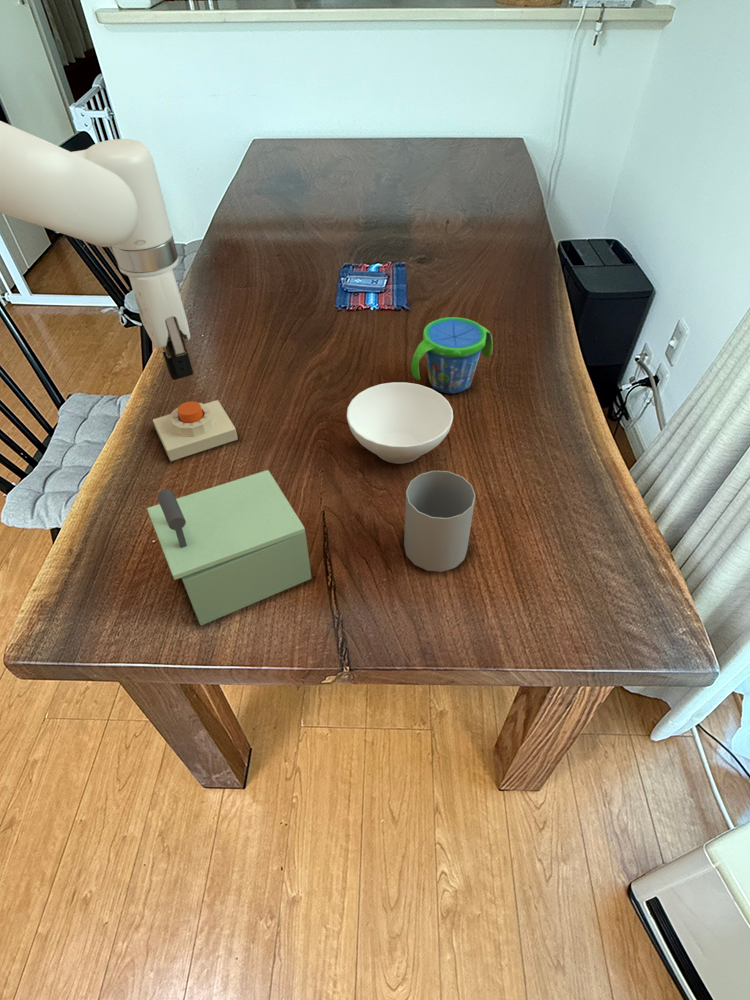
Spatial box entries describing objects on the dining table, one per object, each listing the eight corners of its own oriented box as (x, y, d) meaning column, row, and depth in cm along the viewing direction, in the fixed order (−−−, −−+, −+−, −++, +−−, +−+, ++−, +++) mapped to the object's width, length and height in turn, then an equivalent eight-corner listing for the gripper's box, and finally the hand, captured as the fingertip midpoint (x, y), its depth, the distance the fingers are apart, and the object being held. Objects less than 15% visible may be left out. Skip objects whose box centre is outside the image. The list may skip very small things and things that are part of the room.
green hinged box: (200, 626, 71) (183, 581, 65) (174, 560, 79) (156, 514, 72) (311, 578, 76) (305, 532, 70) (277, 520, 83) (269, 474, 77)
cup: (466, 526, 82) (474, 473, 75) (467, 573, 77) (476, 520, 70) (405, 522, 83) (408, 468, 76) (402, 568, 77) (403, 515, 70)
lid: (174, 580, 64) (162, 546, 60) (148, 512, 72) (136, 477, 68) (305, 532, 70) (302, 498, 66) (268, 474, 77) (264, 440, 73)
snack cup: (423, 410, 101) (426, 357, 94) (398, 377, 108) (399, 326, 101) (503, 389, 105) (512, 337, 98) (474, 359, 112) (480, 309, 105)
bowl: (330, 465, 91) (327, 429, 86) (373, 408, 102) (373, 373, 97) (428, 495, 87) (431, 458, 82) (463, 431, 97) (467, 396, 92)
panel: (170, 461, 92) (163, 441, 90) (155, 429, 98) (149, 410, 95) (238, 439, 96) (233, 419, 93) (220, 410, 102) (215, 390, 99)
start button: (183, 426, 93) (181, 417, 92) (177, 414, 95) (174, 405, 94) (206, 419, 94) (203, 410, 93) (199, 407, 96) (196, 398, 95)
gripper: (104, 238, 80) (144, 358, 93) (129, 283, 70) (170, 408, 83) (160, 227, 82) (191, 345, 95) (191, 268, 73) (221, 393, 86)
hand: (181, 374), depth 89 cm, fingers closed
